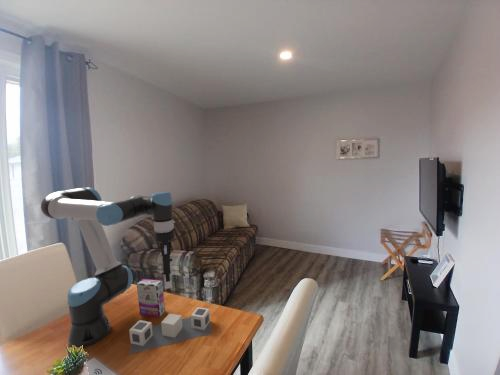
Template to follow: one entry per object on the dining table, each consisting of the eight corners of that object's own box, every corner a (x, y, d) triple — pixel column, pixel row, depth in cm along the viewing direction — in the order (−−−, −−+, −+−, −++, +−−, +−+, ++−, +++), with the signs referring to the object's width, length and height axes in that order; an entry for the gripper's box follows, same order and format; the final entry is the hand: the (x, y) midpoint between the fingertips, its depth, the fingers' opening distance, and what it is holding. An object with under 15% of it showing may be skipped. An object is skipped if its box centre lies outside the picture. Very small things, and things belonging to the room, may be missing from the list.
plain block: (162, 335, 104) (161, 322, 103) (170, 325, 110) (169, 313, 109) (174, 337, 102) (173, 324, 102) (182, 327, 108) (181, 315, 107)
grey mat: (129, 355, 95) (129, 354, 95) (134, 330, 108) (134, 329, 108) (212, 334, 104) (212, 333, 104) (207, 314, 118) (207, 313, 118)
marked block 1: (130, 343, 100) (128, 329, 99) (140, 332, 106) (139, 319, 105) (143, 346, 98) (141, 332, 97) (153, 335, 104) (151, 322, 103)
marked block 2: (191, 328, 108) (190, 315, 107) (198, 318, 114) (197, 306, 113) (204, 330, 106) (203, 317, 105) (210, 321, 112) (209, 308, 111)
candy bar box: (165, 311, 121) (163, 280, 118) (159, 318, 116) (157, 285, 113) (146, 308, 123) (143, 278, 121) (139, 315, 118) (136, 283, 116)
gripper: (174, 237, 91) (178, 294, 94) (173, 221, 111) (177, 269, 114) (152, 240, 88) (158, 298, 92) (155, 223, 108) (159, 272, 112)
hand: (168, 282), depth 103 cm, fingers open, 9 cm apart
